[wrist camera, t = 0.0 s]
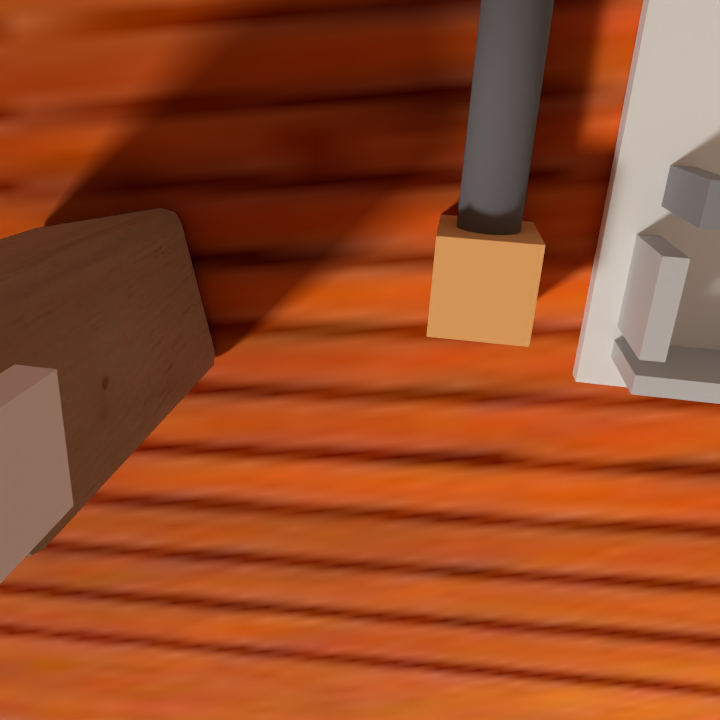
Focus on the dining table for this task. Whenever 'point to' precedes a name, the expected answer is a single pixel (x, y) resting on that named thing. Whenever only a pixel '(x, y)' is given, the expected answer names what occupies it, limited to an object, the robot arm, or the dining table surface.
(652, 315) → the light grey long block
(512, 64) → the rod with end blocks
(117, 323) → the wooden block
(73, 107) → the dining table surface
